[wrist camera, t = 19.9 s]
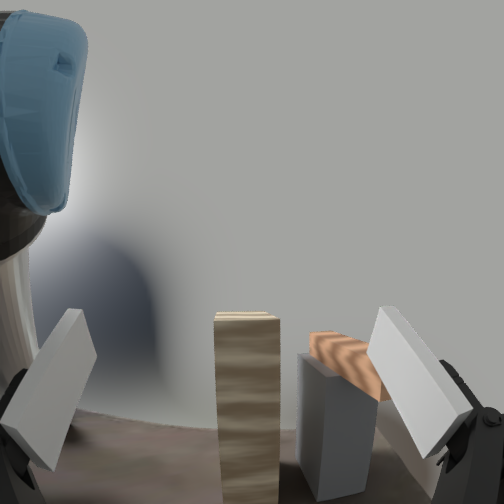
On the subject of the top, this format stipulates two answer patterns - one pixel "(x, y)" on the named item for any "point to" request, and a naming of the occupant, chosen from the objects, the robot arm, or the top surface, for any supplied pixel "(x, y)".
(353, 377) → the bar
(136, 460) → the top surface
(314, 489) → the low stand
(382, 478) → the top surface
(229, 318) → the tall stand
